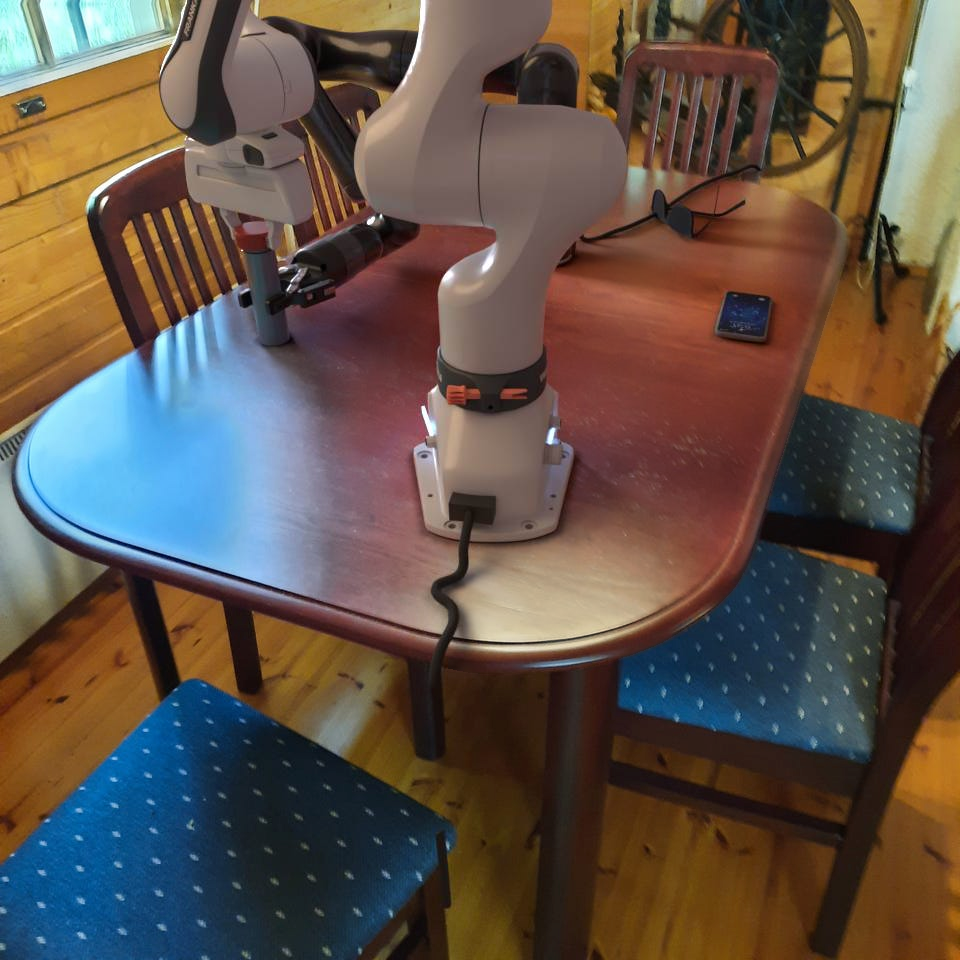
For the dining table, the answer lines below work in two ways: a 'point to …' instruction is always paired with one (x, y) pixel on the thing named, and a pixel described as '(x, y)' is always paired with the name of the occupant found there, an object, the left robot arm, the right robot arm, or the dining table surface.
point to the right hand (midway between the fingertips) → (254, 305)
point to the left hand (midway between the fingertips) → (257, 243)
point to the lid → (251, 235)
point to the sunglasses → (682, 214)
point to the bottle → (265, 295)
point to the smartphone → (744, 316)
